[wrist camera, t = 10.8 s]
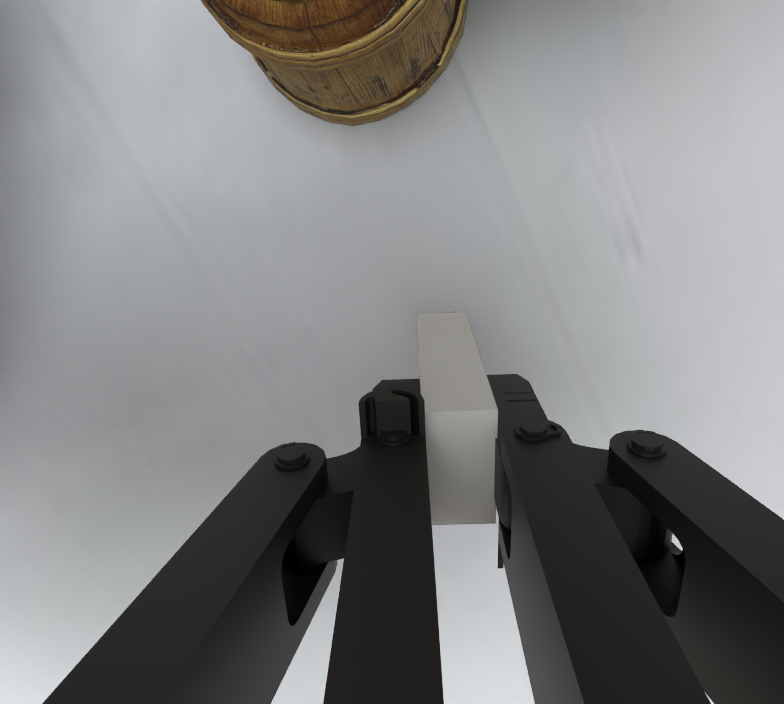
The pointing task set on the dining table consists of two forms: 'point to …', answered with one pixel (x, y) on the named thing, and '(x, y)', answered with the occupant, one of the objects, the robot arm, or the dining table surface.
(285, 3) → the wooden mug
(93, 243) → the dining table surface
